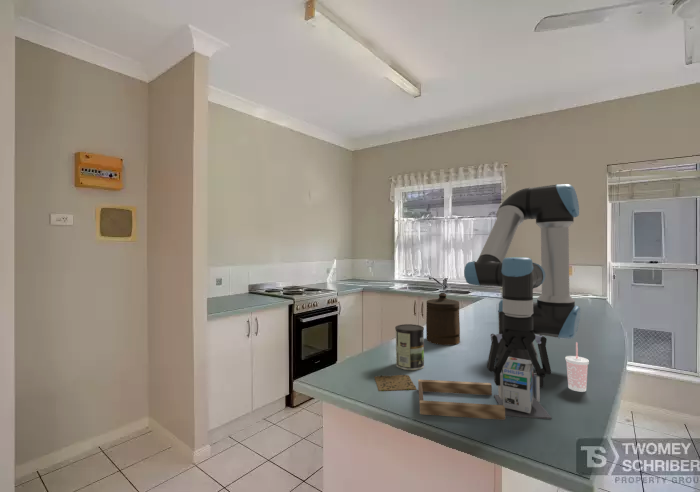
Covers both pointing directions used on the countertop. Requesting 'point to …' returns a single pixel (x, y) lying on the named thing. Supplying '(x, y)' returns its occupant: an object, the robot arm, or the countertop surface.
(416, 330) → the coffee can
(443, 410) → the oak open-sided frame
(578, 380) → the beverage cup
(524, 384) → the light bulb box
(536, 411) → the rubber mat
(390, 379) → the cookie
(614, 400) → the countertop surface
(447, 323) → the wooden container
